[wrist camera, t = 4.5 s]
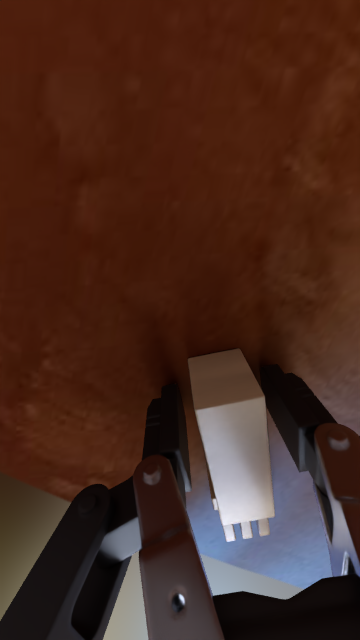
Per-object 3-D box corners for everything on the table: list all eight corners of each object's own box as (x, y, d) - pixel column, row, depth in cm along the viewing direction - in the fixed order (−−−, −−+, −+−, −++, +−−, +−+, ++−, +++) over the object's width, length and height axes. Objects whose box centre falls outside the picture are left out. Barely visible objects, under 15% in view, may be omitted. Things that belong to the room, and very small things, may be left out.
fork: (180, 359, 11) (185, 411, 8) (246, 346, 11) (274, 394, 8) (218, 512, 16) (229, 580, 13) (263, 504, 16) (285, 571, 13)
